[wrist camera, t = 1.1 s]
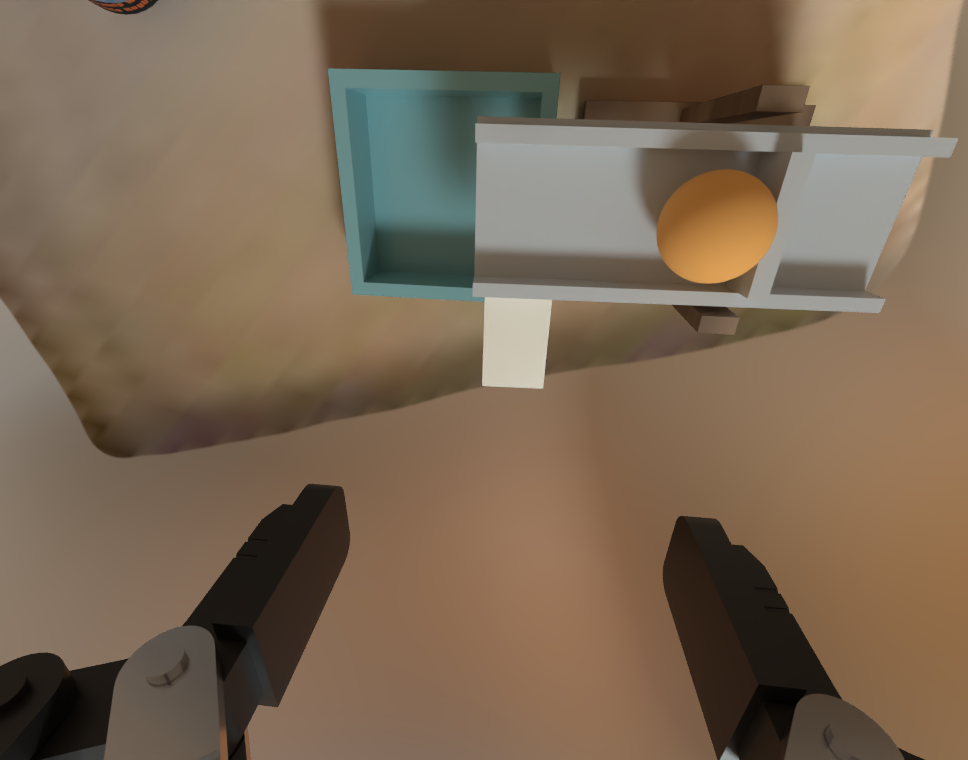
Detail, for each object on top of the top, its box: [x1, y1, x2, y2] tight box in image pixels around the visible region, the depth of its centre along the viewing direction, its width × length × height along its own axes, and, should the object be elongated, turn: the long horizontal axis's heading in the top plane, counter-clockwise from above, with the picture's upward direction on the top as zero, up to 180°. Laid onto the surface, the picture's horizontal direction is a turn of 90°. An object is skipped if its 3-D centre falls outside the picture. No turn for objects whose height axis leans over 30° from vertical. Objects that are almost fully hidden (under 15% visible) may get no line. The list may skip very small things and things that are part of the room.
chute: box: [472, 116, 958, 389], centre depth 22 cm, size 17×12×10 cm
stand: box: [583, 85, 816, 335], centre depth 23 cm, size 12×10×10 cm
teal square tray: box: [328, 68, 560, 302], centre depth 26 cm, size 12×12×4 cm
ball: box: [656, 169, 778, 284], centre depth 17 cm, size 4×4×4 cm
